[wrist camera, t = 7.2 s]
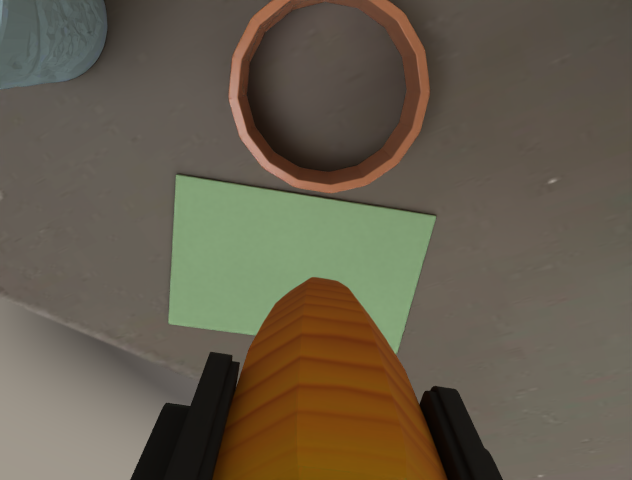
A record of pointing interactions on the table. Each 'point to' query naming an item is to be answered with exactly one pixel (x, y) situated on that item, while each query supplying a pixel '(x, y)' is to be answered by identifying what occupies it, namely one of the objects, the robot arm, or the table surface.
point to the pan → (400, 140)
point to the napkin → (287, 254)
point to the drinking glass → (49, 40)
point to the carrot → (324, 398)
